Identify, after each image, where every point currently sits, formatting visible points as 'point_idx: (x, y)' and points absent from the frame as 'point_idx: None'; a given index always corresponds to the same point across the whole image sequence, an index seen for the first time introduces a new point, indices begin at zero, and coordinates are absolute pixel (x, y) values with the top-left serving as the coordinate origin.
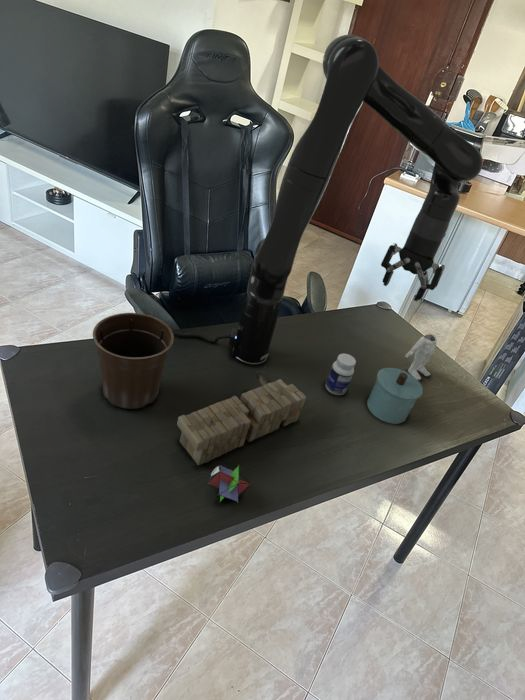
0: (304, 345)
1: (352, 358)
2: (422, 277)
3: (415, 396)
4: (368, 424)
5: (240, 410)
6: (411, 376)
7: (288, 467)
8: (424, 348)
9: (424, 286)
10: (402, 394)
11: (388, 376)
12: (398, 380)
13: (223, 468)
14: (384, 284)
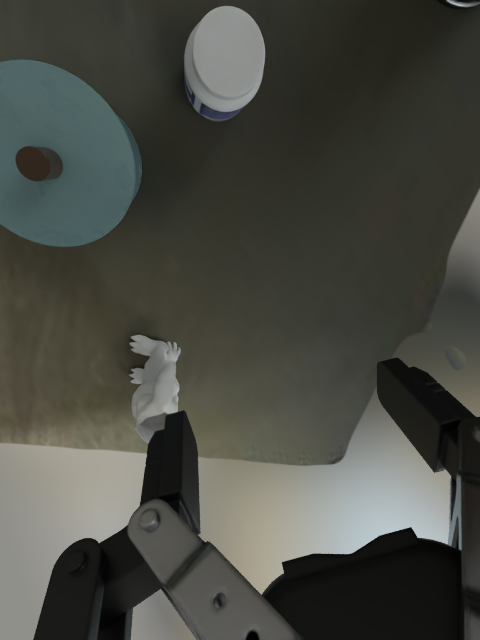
0: (382, 169)
1: (221, 83)
2: (186, 593)
3: None
4: (51, 34)
5: None
6: (61, 239)
7: None
8: (148, 392)
9: (143, 524)
10: None
11: (92, 152)
12: (42, 147)
13: None
14: (392, 361)
